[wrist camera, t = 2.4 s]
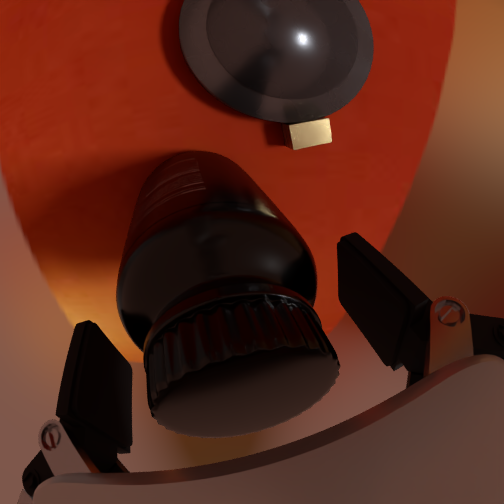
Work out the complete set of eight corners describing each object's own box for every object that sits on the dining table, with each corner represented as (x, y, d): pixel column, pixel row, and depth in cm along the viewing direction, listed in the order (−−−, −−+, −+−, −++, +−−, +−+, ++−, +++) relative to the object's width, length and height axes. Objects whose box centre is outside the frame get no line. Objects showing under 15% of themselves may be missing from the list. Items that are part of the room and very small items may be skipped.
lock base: (158, -43, 6) (157, -52, 5) (336, -49, 7) (346, -55, 6) (212, 165, 14) (215, 171, 13) (376, 129, 15) (387, 132, 14)
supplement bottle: (142, 258, 16) (135, 453, 6) (138, 149, 13) (41, 309, 3) (248, 255, 18) (326, 425, 8) (262, 152, 15) (423, 282, 5)
